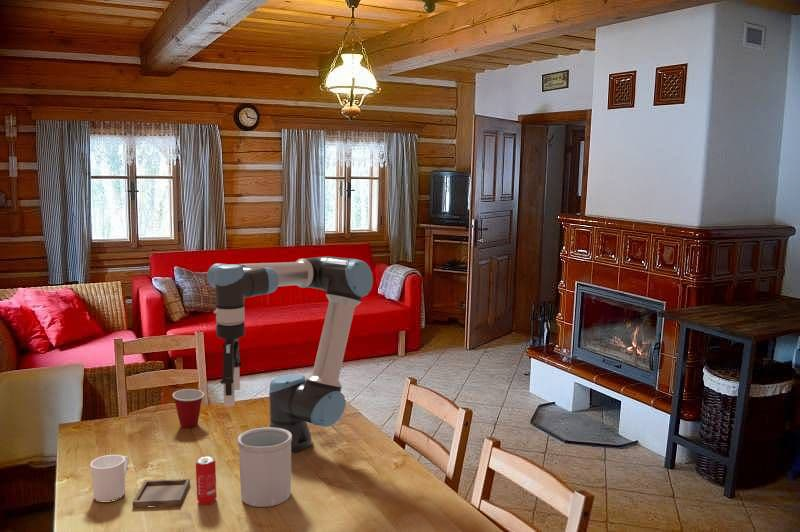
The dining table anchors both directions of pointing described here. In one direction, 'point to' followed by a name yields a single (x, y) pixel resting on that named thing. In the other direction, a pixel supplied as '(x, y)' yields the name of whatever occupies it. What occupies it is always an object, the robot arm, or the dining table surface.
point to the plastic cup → (188, 406)
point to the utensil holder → (265, 466)
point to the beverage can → (206, 480)
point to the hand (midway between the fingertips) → (232, 397)
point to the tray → (161, 493)
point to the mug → (109, 477)
